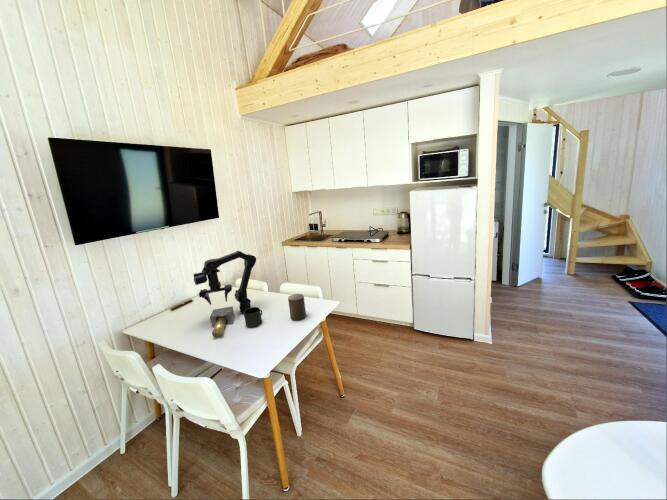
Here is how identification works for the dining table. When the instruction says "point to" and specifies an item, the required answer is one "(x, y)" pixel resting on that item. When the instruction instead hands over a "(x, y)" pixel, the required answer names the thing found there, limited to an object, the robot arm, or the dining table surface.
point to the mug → (253, 317)
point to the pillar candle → (297, 307)
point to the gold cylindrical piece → (219, 327)
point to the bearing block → (222, 315)
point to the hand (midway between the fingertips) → (218, 303)
